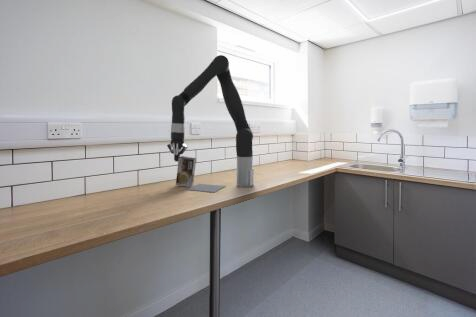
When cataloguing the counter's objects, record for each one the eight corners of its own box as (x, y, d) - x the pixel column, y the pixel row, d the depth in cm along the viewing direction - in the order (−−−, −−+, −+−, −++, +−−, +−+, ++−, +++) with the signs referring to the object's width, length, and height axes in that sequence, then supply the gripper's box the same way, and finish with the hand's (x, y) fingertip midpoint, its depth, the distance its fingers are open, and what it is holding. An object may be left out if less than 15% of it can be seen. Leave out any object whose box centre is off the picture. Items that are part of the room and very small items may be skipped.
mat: (226, 186, 151) (226, 185, 151) (214, 192, 137) (214, 192, 137) (199, 184, 158) (199, 183, 157) (185, 189, 144) (185, 189, 144)
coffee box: (193, 184, 155) (196, 158, 153) (190, 187, 149) (194, 159, 146) (178, 182, 156) (181, 155, 153) (175, 184, 149) (178, 157, 147)
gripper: (191, 132, 151) (190, 161, 154) (171, 130, 156) (171, 159, 158) (184, 132, 144) (182, 163, 147) (164, 130, 149) (163, 160, 151)
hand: (176, 161), depth 153 cm, fingers closed
